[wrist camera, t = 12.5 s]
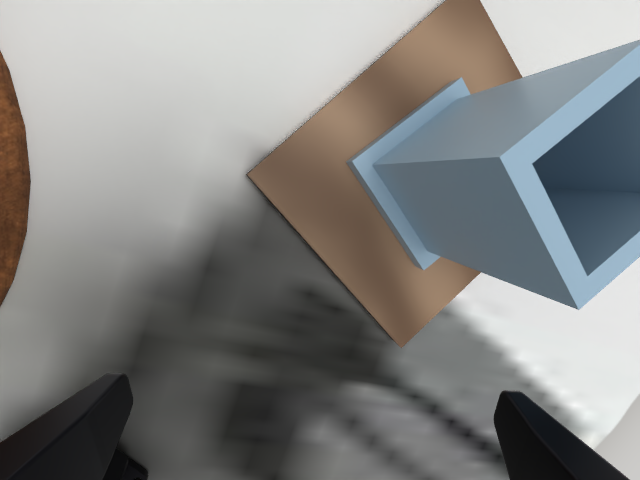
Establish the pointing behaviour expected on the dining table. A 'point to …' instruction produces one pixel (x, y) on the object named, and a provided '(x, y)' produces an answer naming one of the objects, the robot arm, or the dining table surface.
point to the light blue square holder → (520, 177)
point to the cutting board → (11, 181)
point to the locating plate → (359, 131)
